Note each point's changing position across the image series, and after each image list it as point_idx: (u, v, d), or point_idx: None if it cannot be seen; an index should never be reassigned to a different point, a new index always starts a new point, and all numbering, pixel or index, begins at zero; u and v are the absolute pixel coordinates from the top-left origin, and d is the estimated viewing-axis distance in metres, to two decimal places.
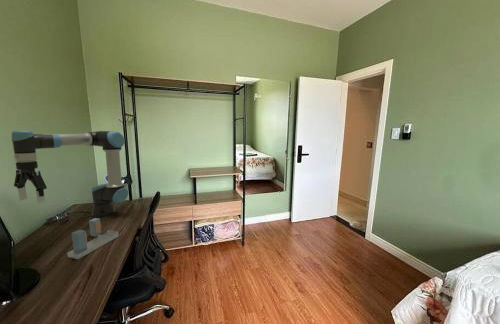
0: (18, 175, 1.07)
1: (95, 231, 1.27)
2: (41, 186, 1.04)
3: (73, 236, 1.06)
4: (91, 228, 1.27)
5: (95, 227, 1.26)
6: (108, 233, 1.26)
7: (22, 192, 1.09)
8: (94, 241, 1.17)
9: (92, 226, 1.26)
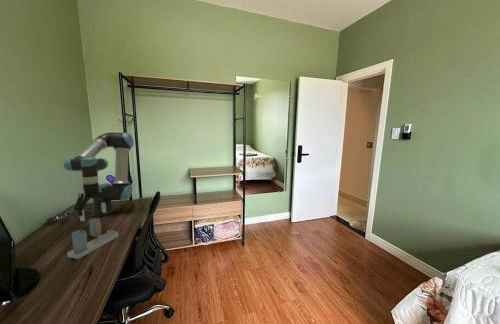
0: (100, 192, 1.31)
1: (95, 231, 1.27)
2: (75, 207, 1.17)
3: (73, 236, 1.06)
4: (91, 228, 1.27)
5: (95, 227, 1.26)
6: (108, 233, 1.26)
7: (102, 206, 1.33)
8: (94, 241, 1.17)
9: (92, 226, 1.26)
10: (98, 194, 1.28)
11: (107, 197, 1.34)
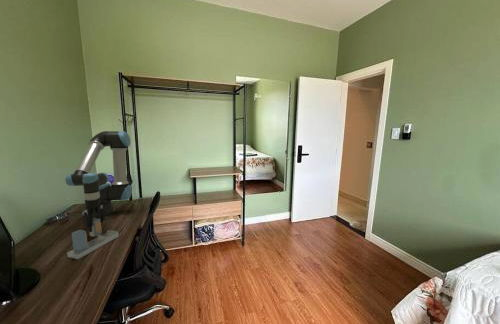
0: (100, 209, 1.32)
1: (95, 231, 1.27)
2: (84, 225, 1.23)
3: (73, 236, 1.06)
4: None
5: (95, 227, 1.26)
6: (108, 233, 1.26)
7: None
8: (94, 241, 1.17)
9: None
10: (98, 210, 1.28)
11: (104, 216, 1.33)
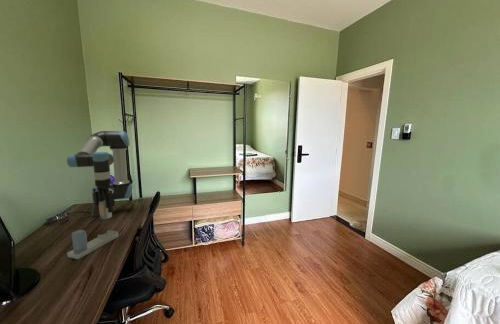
0: None
1: None
2: None
3: (73, 236, 1.06)
4: None
5: None
6: (108, 233, 1.26)
7: None
8: (94, 241, 1.17)
9: None
10: (104, 193, 1.18)
11: (110, 203, 1.18)
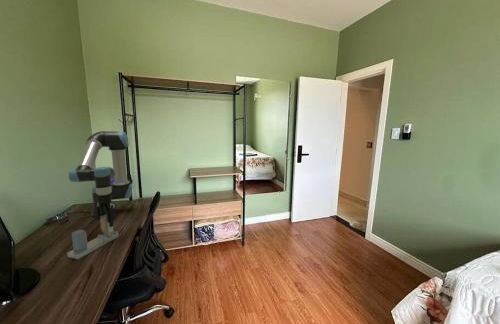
0: None
1: None
2: None
3: (73, 236, 1.06)
4: None
5: (101, 223, 1.21)
6: (108, 233, 1.26)
7: None
8: (94, 241, 1.17)
9: None
10: (105, 208, 1.19)
11: (111, 217, 1.20)
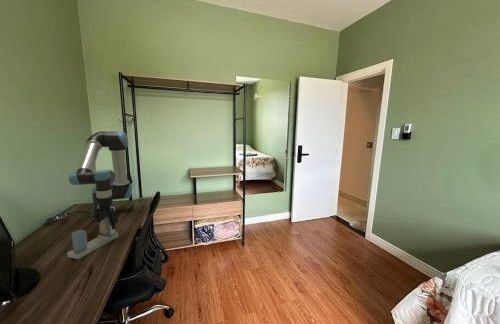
0: None
1: None
2: None
3: (73, 236, 1.06)
4: None
5: None
6: None
7: None
8: (94, 241, 1.17)
9: None
10: (106, 211, 1.20)
11: (113, 220, 1.20)
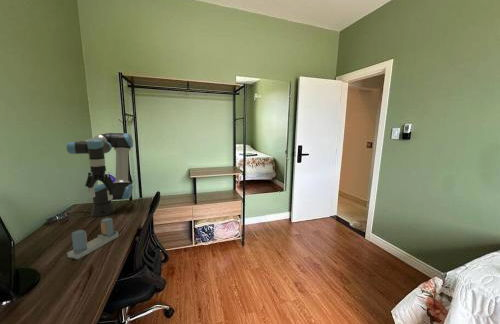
0: None
1: None
2: None
3: (73, 236, 1.06)
4: None
5: None
6: None
7: None
8: (94, 241, 1.17)
9: None
10: (100, 179, 1.24)
11: (110, 185, 1.24)
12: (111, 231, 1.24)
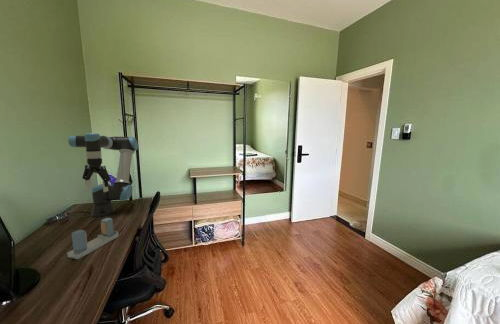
0: None
1: None
2: None
3: (73, 236, 1.06)
4: None
5: None
6: None
7: None
8: (94, 241, 1.17)
9: None
10: (96, 171, 1.28)
11: (105, 177, 1.27)
12: (111, 231, 1.24)
